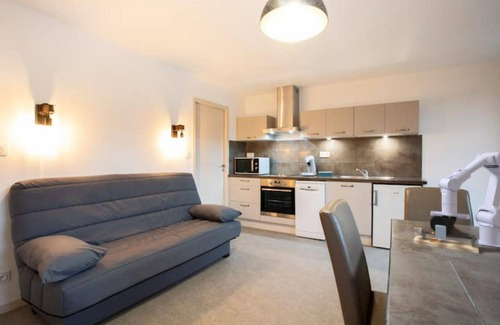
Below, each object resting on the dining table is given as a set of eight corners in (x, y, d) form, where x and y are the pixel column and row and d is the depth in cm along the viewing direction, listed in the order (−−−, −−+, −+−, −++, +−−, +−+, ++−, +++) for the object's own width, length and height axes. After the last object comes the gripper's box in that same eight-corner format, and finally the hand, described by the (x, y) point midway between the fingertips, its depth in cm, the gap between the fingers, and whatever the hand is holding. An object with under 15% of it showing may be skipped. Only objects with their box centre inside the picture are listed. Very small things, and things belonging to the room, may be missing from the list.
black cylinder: (444, 230, 163) (453, 217, 161) (446, 238, 135) (457, 222, 133) (426, 221, 168) (435, 208, 166) (426, 227, 141) (436, 211, 139)
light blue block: (446, 237, 124) (445, 225, 124) (445, 239, 121) (445, 227, 121) (435, 236, 126) (435, 224, 126) (435, 238, 123) (435, 226, 123)
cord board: (477, 247, 119) (476, 233, 119) (478, 253, 111) (478, 238, 111) (415, 238, 134) (415, 225, 134) (413, 243, 126) (413, 229, 126)
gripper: (430, 203, 122) (430, 231, 123) (470, 206, 113) (470, 237, 114) (430, 201, 128) (431, 228, 128) (469, 204, 119) (469, 233, 119)
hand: (449, 232), depth 121 cm, fingers closed
